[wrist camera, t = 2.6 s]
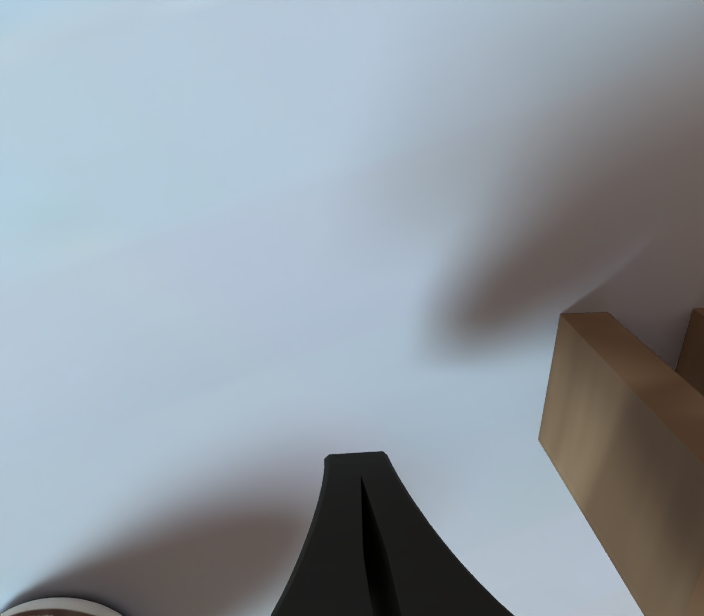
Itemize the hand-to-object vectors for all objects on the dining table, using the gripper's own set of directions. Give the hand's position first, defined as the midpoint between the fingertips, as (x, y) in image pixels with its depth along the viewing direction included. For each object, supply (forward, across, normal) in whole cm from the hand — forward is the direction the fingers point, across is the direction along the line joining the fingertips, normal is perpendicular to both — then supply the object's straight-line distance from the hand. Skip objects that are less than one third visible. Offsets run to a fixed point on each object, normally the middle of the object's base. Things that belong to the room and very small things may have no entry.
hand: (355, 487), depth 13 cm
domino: (+4, -7, 0) cm, 8 cm away
